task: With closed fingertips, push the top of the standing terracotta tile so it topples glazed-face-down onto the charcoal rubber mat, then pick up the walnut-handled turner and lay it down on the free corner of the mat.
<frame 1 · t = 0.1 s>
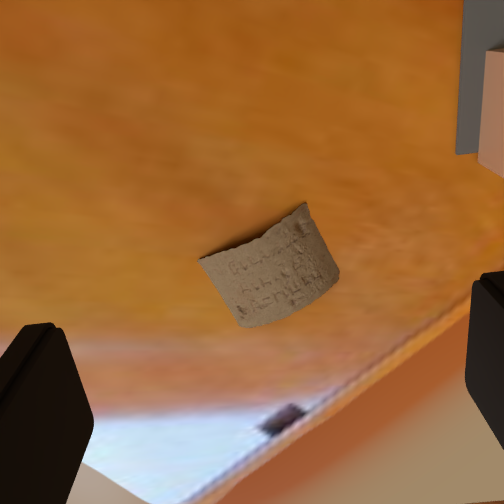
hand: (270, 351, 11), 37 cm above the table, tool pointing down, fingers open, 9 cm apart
clay tablet: (270, 265, 52), on the table
tile: (492, 107, 44), resting on mat
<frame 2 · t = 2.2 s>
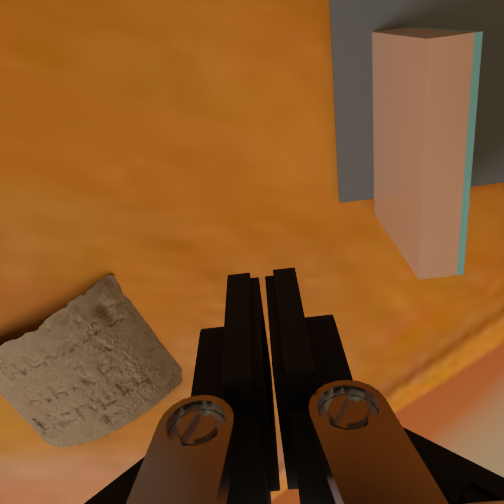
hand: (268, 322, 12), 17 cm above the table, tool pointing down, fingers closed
clay tablet: (78, 359, 35), on the table
tile: (391, 128, 27), resting on mat
mat: (485, 37, 25), on the table
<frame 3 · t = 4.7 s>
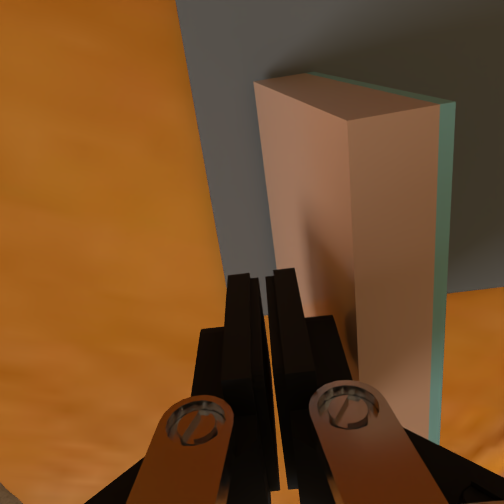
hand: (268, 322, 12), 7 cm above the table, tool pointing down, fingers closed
tile: (297, 220, 18), point 1 cm above the table, tilted 10°, touching mat
mat: (433, 85, 16), on the table
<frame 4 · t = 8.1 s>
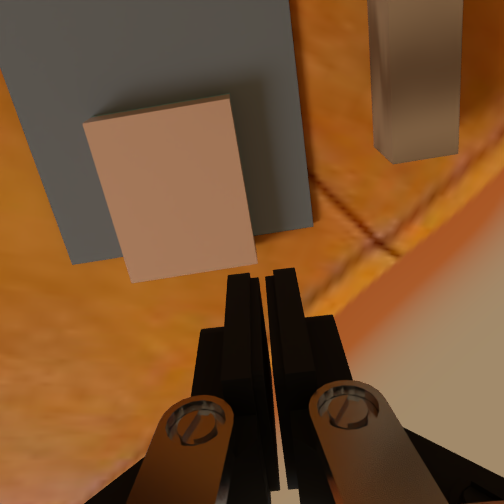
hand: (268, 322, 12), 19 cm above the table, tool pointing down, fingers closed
tile: (112, 203, 29), point 1 cm above the table, tilted 90°, touching mat
mat: (163, 121, 28), on the table
turner: (400, 63, 28), on the table
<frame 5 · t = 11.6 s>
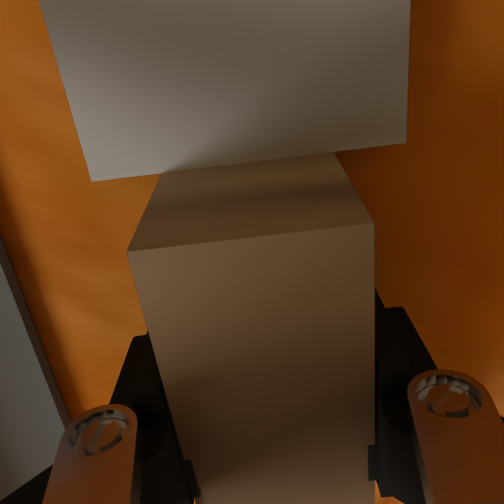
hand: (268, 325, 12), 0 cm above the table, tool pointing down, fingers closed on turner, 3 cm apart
turner: (268, 323, 12), on the table, touching gripper
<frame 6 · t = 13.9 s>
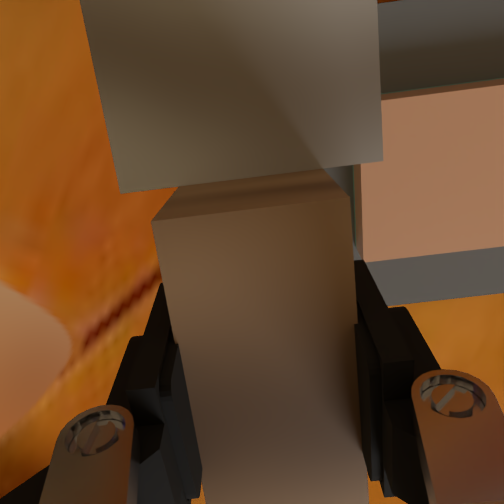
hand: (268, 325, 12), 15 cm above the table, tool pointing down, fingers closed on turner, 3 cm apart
tile: (453, 243, 26), point 1 cm above the table, tilted 90°, touching mat
mat: (370, 174, 25), on the table
turner: (270, 332, 14), point 13 cm above the table, tilted 7°, touching gripper
when the fingers open (3 cm above the table, at t = 16.2 s): turner stays where it is, resting on mat.
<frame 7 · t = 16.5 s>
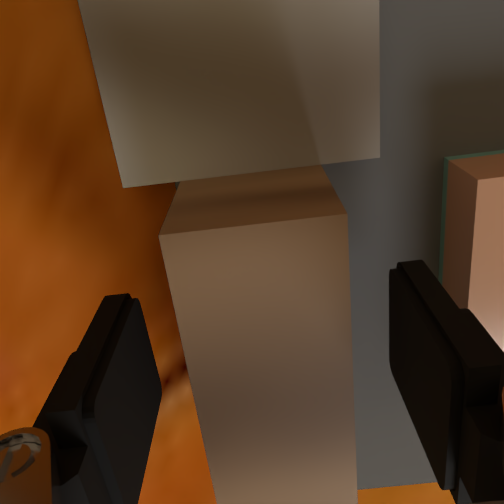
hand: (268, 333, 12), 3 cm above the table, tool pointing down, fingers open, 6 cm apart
mat: (466, 283, 15), on the table
turner: (267, 313, 14), resting on mat
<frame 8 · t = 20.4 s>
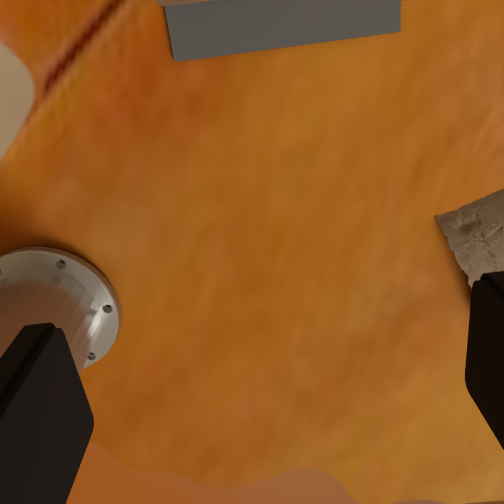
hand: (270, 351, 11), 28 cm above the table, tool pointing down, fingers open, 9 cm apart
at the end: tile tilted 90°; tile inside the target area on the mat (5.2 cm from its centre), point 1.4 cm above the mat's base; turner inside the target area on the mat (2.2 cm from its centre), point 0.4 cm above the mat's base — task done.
